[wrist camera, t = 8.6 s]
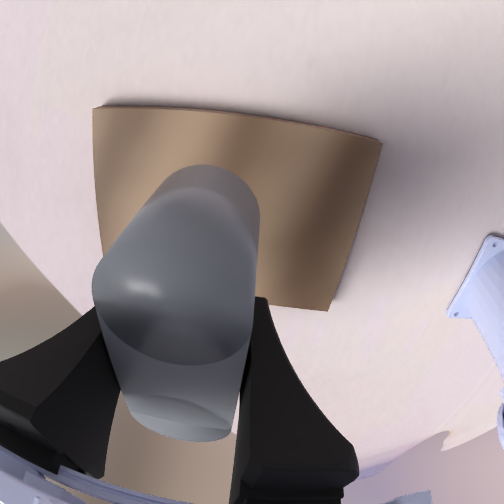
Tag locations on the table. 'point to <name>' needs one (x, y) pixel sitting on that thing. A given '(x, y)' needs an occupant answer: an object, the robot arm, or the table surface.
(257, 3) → the table surface
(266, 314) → the robot arm
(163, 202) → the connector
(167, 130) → the walnut board
